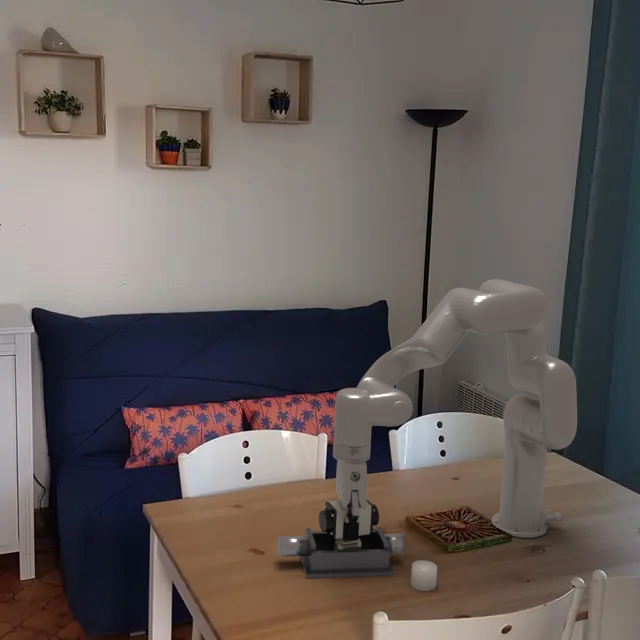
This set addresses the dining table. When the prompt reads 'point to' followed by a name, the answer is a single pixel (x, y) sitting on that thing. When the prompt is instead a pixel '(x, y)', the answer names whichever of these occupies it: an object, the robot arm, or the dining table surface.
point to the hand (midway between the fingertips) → (347, 532)
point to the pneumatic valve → (335, 518)
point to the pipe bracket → (342, 554)
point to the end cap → (423, 575)
